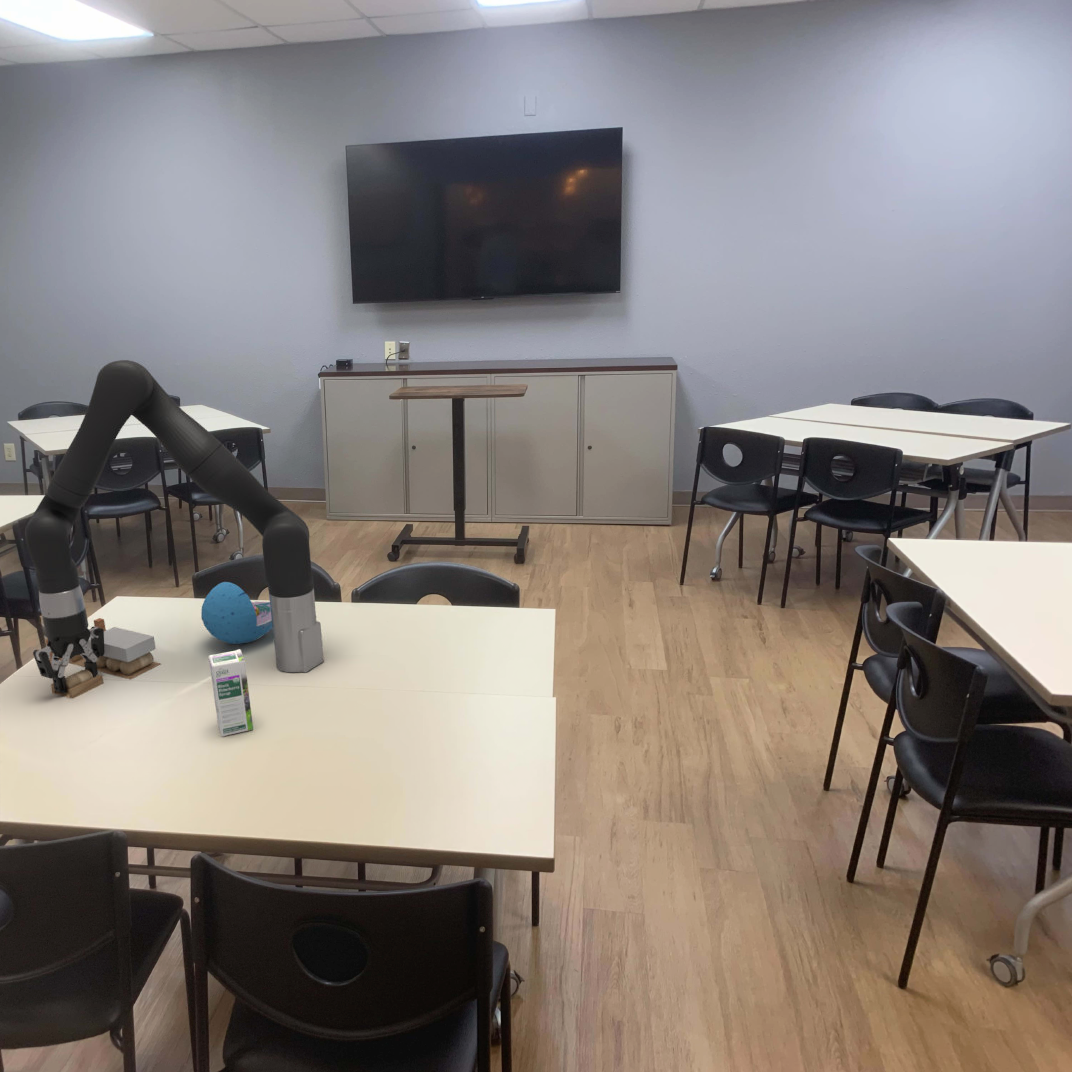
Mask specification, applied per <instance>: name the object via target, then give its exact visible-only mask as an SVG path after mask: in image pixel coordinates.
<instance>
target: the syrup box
mask: <svg viewBox="0 0 1072 1072" xmlns="http://www.w3.org/2000/svg"><path fill="white" fill-rule="evenodd" d="M208 663H209V664H208V665H209V669H210V671H209V672H210V676H211V683H212V685H211V686H212V691H213V699H214V704H215V705H214V706H215V713H216V719H217V720H216V721H217V725H218V728H219V729H218V730H219V733H220V736H221V737H222V738H224V737H226V736H230V735H235V734H240V733H243V732H247V731H249V732H250V731H252V730H254V723H253V716H252V709H251V701H250V692H249V683H248V677H247V676H248V675H247V667H246V661H245V658H244V655H243V653H242V649H240V648H239V649H236V650H233V651H227V652H221V653H217V654H209V655H208Z"/></svg>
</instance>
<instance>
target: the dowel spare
mask: <svg viewBox="0 0 1072 1072" xmlns="http://www.w3.org/2000/svg"><path fill="white" fill-rule="evenodd" d="M82 670H83V671H81V670H80V671H81V672H79V671H77V672H78V673H77V672H75V673H76V674H75V673H73V674H74V675H72V674H71V675H72V676H70V675H69V676H70V677H68V676H67V677H68V678H66V677H65V680H66V685H67V690H68V689H71V688H73V687H75V686H77V685H79V684H81V683H83V682H85V681H87V680H90V679H92V678H93V675H92V673H91V672H90V671H89V670H87V669H85V668H84V669H82ZM67 693H69V690H68V692H67Z"/></svg>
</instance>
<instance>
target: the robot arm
mask: <svg viewBox="0 0 1072 1072" xmlns="http://www.w3.org/2000/svg"><path fill="white" fill-rule="evenodd" d="M93 387H94V388H93V390H92V394H91V398H90V401H89V404H88V407H87V409H86V412H85V415H84V417H83V419H82V421H81V424H80V426H79V429H78V430H77V432H76V434H75V436H74V437H73V439H72V441H71V443H70V445H69V446H68V449H67V450H66V452H65V454H64V455H63V457H62V458H61V461H60V462H59V464H58V465H57V467H56V469H55V472H54V474H53V476H52V477H51V479H50V481H49V483H48V486H47V489H46V493H45V495H44V496H43V497H42V499H41V501H40V502H39V504H38V505H37V507H36V509H35V511H34V513H33V515H32V516H31V518H30V519H29V521H28V522H27V524H26V526H25V531H24V537H25V543H26V546H27V550H28V553H29V554H28V555H29V556H30V559H31V562H32V564H33V566H34V570H35V578H36V584H37V589H38V598H39V599H38V602H39V606H40V607H39V608H40V614H41V616H42V618H41V619H42V623H43V628H44V632H45V635H46V637H47V639H48V643H47V645H46V646H45V647H43V648H41V649H35V650H33V652H32V655H33V658H34V660H35V662H36V666H37V668H38V672H39V674H40V676H41V677H44V678H48V679H52V684H54V689H55V690H56V691H58V692H59V693H62V694H65V693H67V692H68V690H67V685H66V680H65V678H66V677H65V672H66V668H67V666H69V664H70V663H69V659H71V658H73V657H74V656H76V655H81V656H82V657H83V658H84V659H85V660H86V662H84V665H85V667H84V670H85V669H87V670H89V671H90V672H91V673H92V675H93V678H94V677H96V676H98V675H99V671H98V669H97V664H96V661H97V658H99V657H100V656H103V655H104V653H105V651H104V629H103V628H99V627H95V626H91V627H90V628H88V627H89V619H88V616H87V615H88V614H87V608H86V604H85V597H84V592H83V590H82V588H81V584H80V578H79V573H78V569H77V568H78V567H77V564H76V562H75V559H73V558H72V554H71V553H72V552H71V548H70V540H69V536H70V533H71V531H72V529H73V526H74V524H75V522H76V520H77V517H78V516H79V513H80V511H81V509H82V507H83V506H84V505H85V504H86V502H87V501H88V500H89V498H90V496H91V494H92V493H93V490H94V488H95V487H96V484H97V483H98V481H99V479H100V477H101V475H102V473H103V471H104V468H105V466H106V463H107V460H108V459H109V455H110V452H111V450H112V447H113V446H114V443H115V441H116V439H117V437H118V436H119V433H120V431H121V430H122V428H123V427H124V425H125V424H126V422H127V421H128V420H129V419H130V417H131V416H132V417H134V418H135V419H136V420H137V421H138V422H140V423H141V424H142V425H144V427H146V428H147V429H148V430H149V431H150V432H151V433H152V435H154V436H155V438H156V439H157V440H158V441H159V443H160V444H161V445H162V446H163V448H164V450H165V451H166V453H167V454H168V455H169V456H170V458H171V459H172V460H173V462H174V463H175V464H176V465H177V466H178V468H179V469H180V470H181V471H182V472H183V473H184V474H185V475H186V476H187V477H188V478H189V479H190V480H192V482H194V483H195V484H196V485H197V487H199V488H200V489H201V490H203V491H204V493H207V494H208V495H209V496H211V497H212V498H214V499H215V500H216V501H218V502H220V503H222V504H224V505H226V506H227V507H230V508H231V509H233V510H234V511H236V512H237V513H239V514H240V515H241V516H242V517H244V518H245V519H246V520H247V521H248V522H249V523H250V524H251V525H252V526H253V527H254V528H255V529H256V531H257V532H258V533H259V534H260V536H262V540H261V541H262V542H261V543H262V555H263V556H262V557H263V563H264V571H265V573H264V574H265V580H266V584H267V588H268V596H269V597H268V598H269V602H270V609H271V619H272V628H271V629H272V636H273V646H274V654H275V655H274V656H275V664H276V668H277V669H278V670H280V671H281V672H287V673H298V672H299V673H300V672H301V673H302V672H303V673H308V672H309V671H310V670H312V669H314V668H315V667H317V666H318V665H320V664H322V663H323V662H324V661H325V660H324V651H323V649H324V648H323V638H322V637H323V636H322V625H321V622H320V621H317V611H316V599H315V598H316V597H315V589H314V578H313V572H312V571H313V570H312V561H311V560H312V559H311V549H310V530H309V527H308V525H307V524H306V522H305V521H304V519H302V518H301V517H300V516H299V515H297V514H296V513H295V512H294V511H292V510H291V509H290V508H289V507H287V505H285V504H284V503H282V501H280V500H279V499H277V498H276V497H275V496H273V494H271V493H270V491H268V490H267V489H266V488H265V486H263V485H262V483H260V481H259V480H258V479H257V478H256V477H255V476H254V475H253V474H252V472H251V471H249V469H248V468H247V467H246V466H245V465H244V464H243V463H242V462H241V461H240V460H239V458H237V457H236V455H234V454H233V453H232V452H231V450H229V449H228V448H227V447H226V446H225V445H224V444H222V442H221V441H220V440H218V439H217V438H216V437H215V436H214V435H213V434H212V433H211V432H209V430H207V429H206V428H205V427H204V426H202V425H201V423H199V422H198V421H197V420H196V419H194V418H193V417H192V416H190V415H189V414H188V413H186V412H185V410H183V409H182V408H181V407H180V406H179V405H178V404H177V403H176V402H175V401H174V399H172V398H171V396H170V395H169V394H168V393H167V392H166V391H165V389H164V388H163V387H162V386H161V385H160V384H159V383H158V381H157V380H156V379H155V377H154V376H153V374H151V372H149V370H148V369H147V368H146V367H145V366H143V365H142V364H141V363H139V362H136V361H134V360H129V359H126V360H125V359H121V360H115V361H112V362H108V363H107V364H105V365H104V366H103V367H102V368H101V369H100V370H99V372H98V374H97V376H96V380H95V383H94V386H93ZM89 638H91V648H90V647H89V645H88V644H87V642H88V640H89ZM50 652H52V653H53V655H52V659H51V663H52V665H51V663H50V660H49V658H51V656H50ZM59 658H62V660H59Z"/></svg>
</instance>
